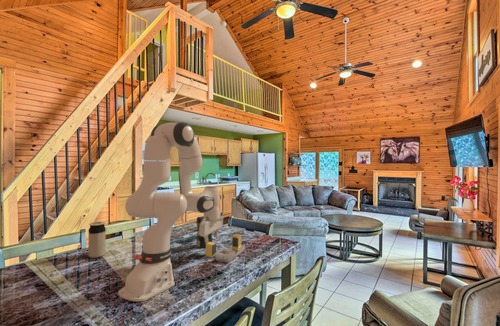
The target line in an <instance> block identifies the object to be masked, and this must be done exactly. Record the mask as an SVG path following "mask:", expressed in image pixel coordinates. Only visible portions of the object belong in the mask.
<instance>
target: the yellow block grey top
mask: <svg viewBox="0 0 500 326" xmlns="http://www.w3.org/2000/svg"><path fill="white" fill-rule="evenodd" d="M216 253H217V243H216V242H214V241H212V242H208V243H206V247H205V257H207V258H213V257H216Z"/></svg>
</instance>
